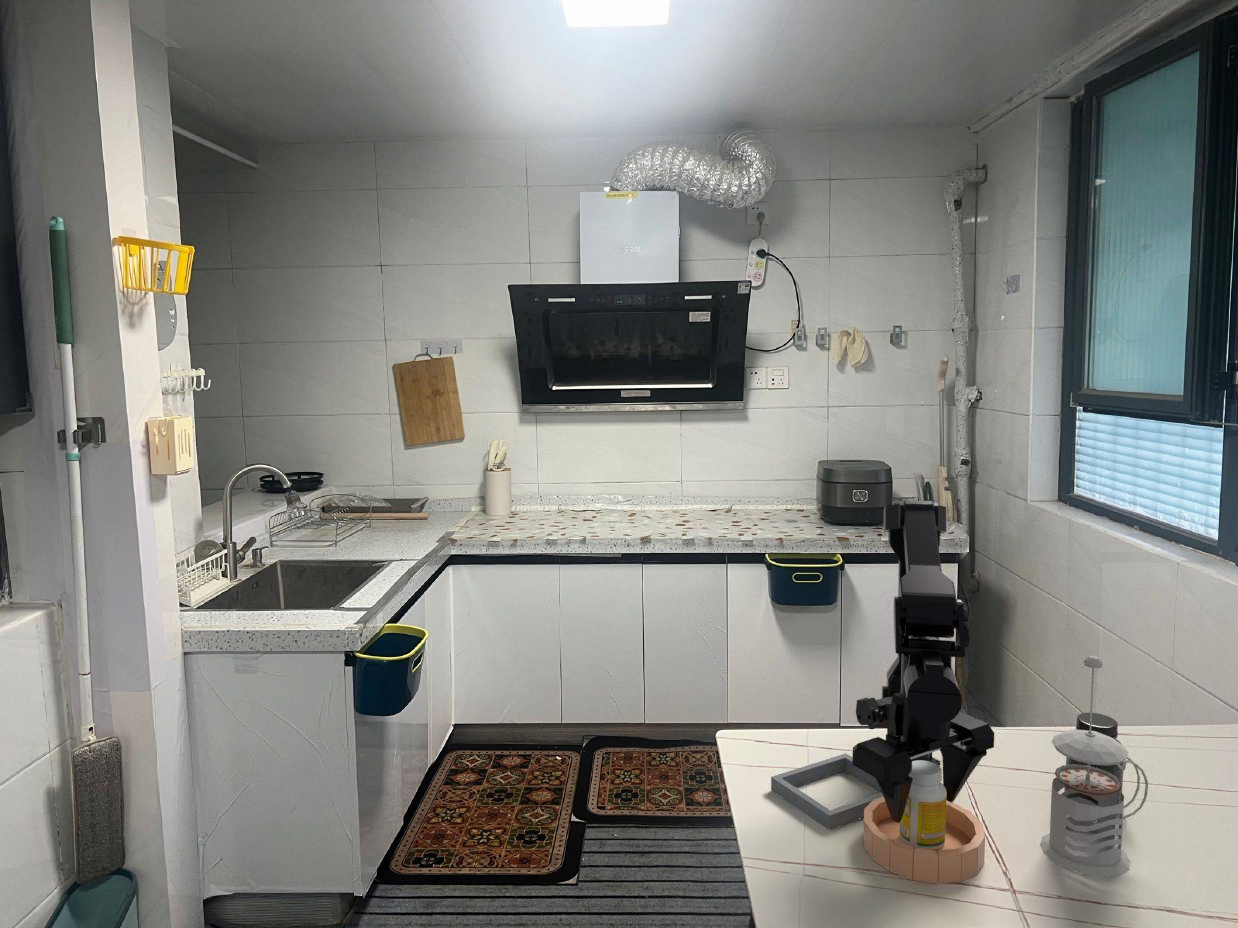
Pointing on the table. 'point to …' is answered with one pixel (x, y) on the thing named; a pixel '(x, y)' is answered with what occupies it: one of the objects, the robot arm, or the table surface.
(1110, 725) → the supplement bottle
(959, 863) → the bowl
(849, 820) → the open rectangular frame
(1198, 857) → the table surface
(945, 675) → the robot arm
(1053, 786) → the french press
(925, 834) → the supplement bottle
